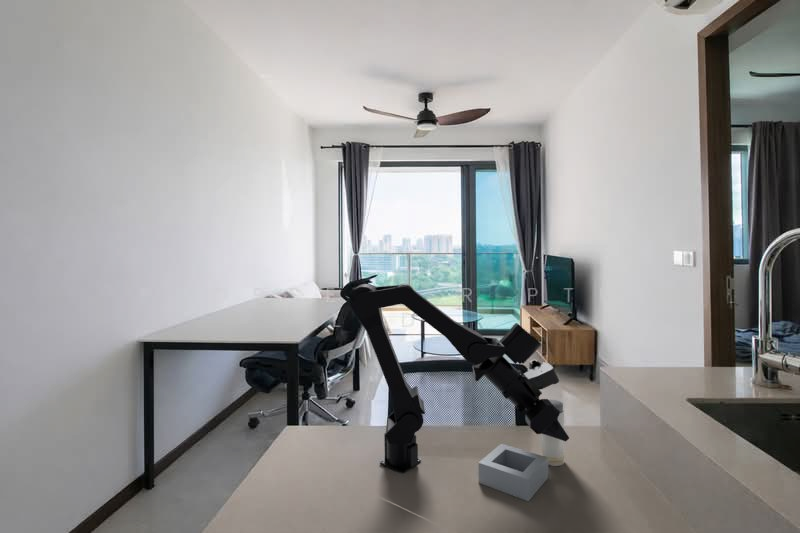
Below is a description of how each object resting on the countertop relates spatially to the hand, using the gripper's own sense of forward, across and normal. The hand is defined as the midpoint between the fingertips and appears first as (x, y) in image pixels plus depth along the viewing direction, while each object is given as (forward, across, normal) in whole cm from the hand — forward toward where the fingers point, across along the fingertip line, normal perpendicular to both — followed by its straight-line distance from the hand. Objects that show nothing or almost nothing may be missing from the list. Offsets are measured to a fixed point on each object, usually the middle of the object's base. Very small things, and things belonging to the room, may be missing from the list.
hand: (559, 429), depth 91 cm
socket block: (-3, -7, +13) cm, 15 cm away
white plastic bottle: (+4, 0, +6) cm, 7 cm away
